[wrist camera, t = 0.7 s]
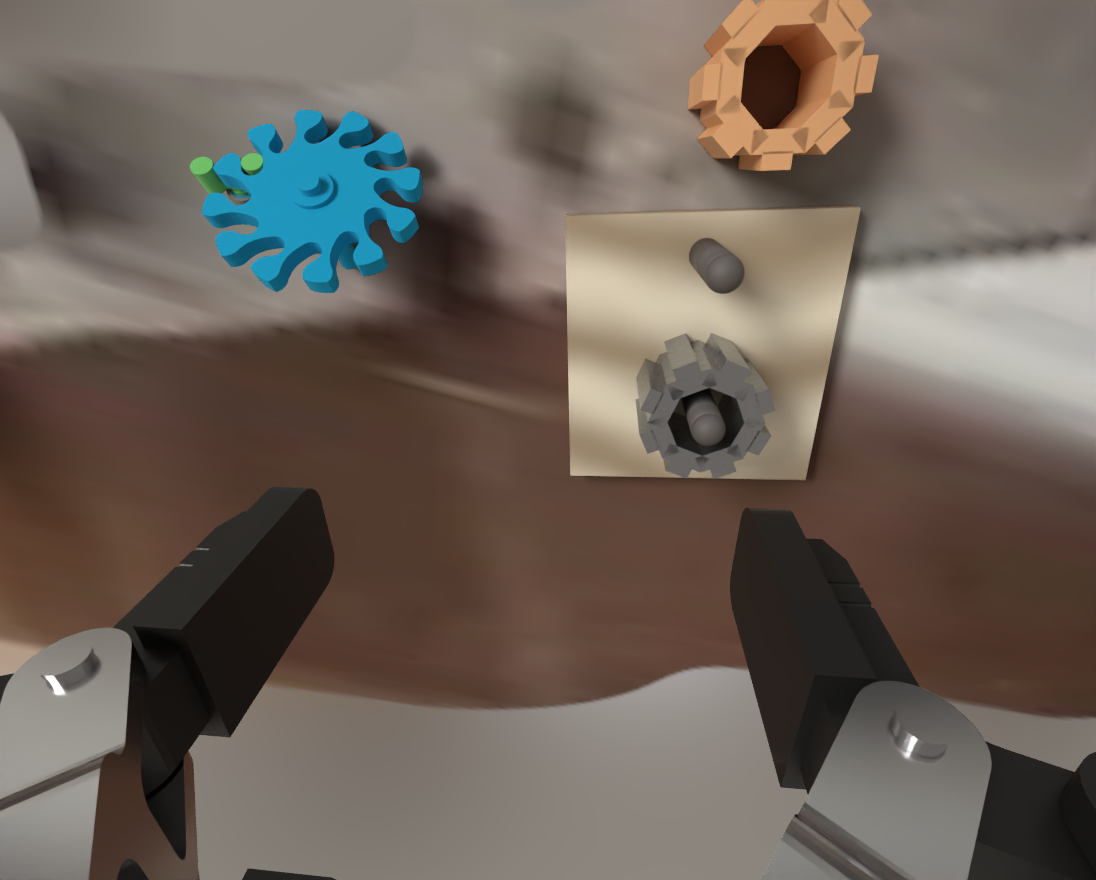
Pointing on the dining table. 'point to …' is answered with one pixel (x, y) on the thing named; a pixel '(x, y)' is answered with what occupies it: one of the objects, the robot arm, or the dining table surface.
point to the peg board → (702, 323)
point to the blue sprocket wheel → (310, 200)
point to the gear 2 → (824, 89)
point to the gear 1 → (691, 373)
